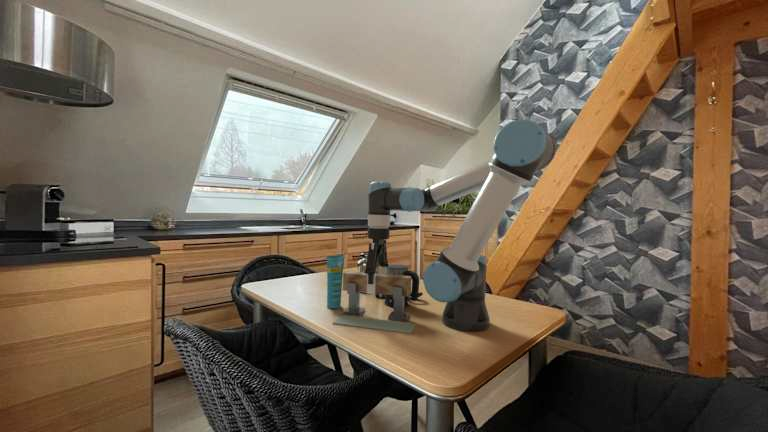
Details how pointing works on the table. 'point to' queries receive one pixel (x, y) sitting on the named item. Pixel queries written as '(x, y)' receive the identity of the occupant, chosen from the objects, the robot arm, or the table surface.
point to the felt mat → (375, 324)
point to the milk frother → (403, 270)
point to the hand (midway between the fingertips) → (376, 289)
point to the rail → (378, 282)
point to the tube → (334, 280)
